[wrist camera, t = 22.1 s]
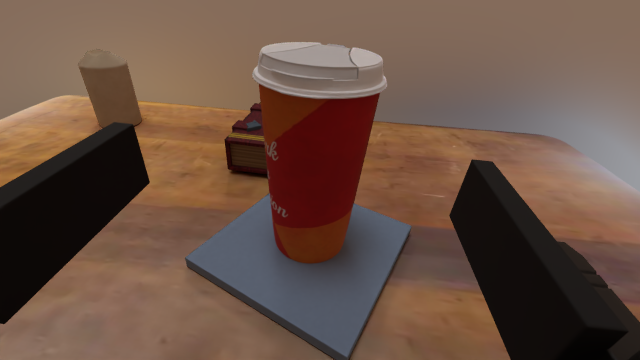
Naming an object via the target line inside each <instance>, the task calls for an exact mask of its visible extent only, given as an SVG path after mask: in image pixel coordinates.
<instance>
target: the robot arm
mask: <svg viewBox="0 0 640 360" xmlns="http://www.w3.org/2000/svg"><path fill="white" fill-rule="evenodd" d="M149 183H150V181H149V178H148V174H147V171H146V167H145V164H144V160H143V157H142V153H141V150H140V146H139V143H138V139H137V136H136V132H135V129H134V125H133V124H128V123H118V122H113V123H112V124H110V125H108V126H106V127H105V128H103V129H101V130H99V131H98V132H96V133H94V134H92V135H91V136H89V137H87V138H86V139H84V140H82V141H80V142H79V143H77V144H75V145H73V146H72V147H70V148H68V149H66V150H65V151H63V152H61V153H59V154H58V155H56V156H54V157H52V158H51V159H49V160H47V161H45V162H44V163H42V164H40V165H38V166H37V167H35V168H33V169H31V170H30V171H28V172H26V173H25V174H23V175H21V176H19V177H18V178H16V179H14V180H12V181H11V182H9V183H7V184H5V185H4V186H2V187H0V323H1V324H5V323H6V322H7V321H8V320H9V319H10V318H11V317H12V316H13V315H15V314H16V313H17V312H18V311H19V310H20V309H21V308H22V307H23V306H24V305H25V304H26V303H27V302H28V301H29V300H30V299H31V298H32V297H33V296H34V295H35V294H36V293H37V292H38V291H39V290H40V289H41V288H42V287H43V286H44V285H45V284H46V283H47V282H48V281H49V280H50V279H51V278H52V277H53V276H54V275H56V274H57V273H58V272H59V271H60V270H61V269H62V268H63V267H64V266H65V265H66V264H67V263H68V262H69V261H70V260H71V259H72V258H73V257H74V256H75V255H76V254H77V253H78V252H79V251H80V250H81V249H82V248H83V247H84V246H85V245H86V244H87V243H88V242H89V241H90V240H91V239H92V238H93V237H94V236H95V235H97V234H98V233H99V232H100V231H101V230H102V229H103V228H104V227H105V226H106V225H107V224H108V223H109V222H110V221H111V220H112V219H113V218H114V217H115V216H116V215H117V214H118V213H119V212H120V211H121V210H122V209H123V208H124V207H125V206H126V205H127V204H128V203H129V202H130V201H131V200H132V199H133V198H134V197H135V196H136V195H138V194H139V193H140V192H141V191H142V190H143V189H144V188H145V187H146V186H147V185H148V184H149ZM449 216H450V218H451V221H452V223H453V225H454V228H455V230H456V232H457V235H458V237H459V239H460V242H461V244H462V247H463V249H464V251H465V254H466V256H467V258H468V261H469V263H470V265H471V268H472V270H473V272H474V275H475V277H476V279H477V282H478V284H479V286H480V289H481V291H482V293H483V296H484V298H485V300H486V303H487V305H488V307H489V310H490V312H491V314H492V317H493V319H494V321H495V324H496V326H497V328H498V331H499V333H500V335H501V338H502V340H503V342H504V345H505V347H506V349H507V352H508V354H509V356H510V359H511V360H640V322H639V321H638V320H637V319H636V317H635V316H634V315H633V314H632V313H631V312H630V311H629V309H628V308H627V307H626V306H625V305H624V304H623V302H622V301H621V300H620V299H619V298H618V297H617V295H616V294H615V293H614V292H613V291H612V290H611V289H608V285H607V284H606V283H605V281H604V280H603V279H602V278H601V277H600V276H599V275H597V274H596V271H595V270H594V269H593V267H592V266H591V265H590V264H589V263H588V262H587V260H586V259H585V258H584V257H583V256H582V255H581V254H579V253H578V252H577V251H575V250H574V249H573V248H571V247H570V246H569V245H567V244H566V243H565V242H557V241H556V240H555V239H554V238H553V236H552V235H551V234H550V233H549V231H548V230H547V229H546V228H545V226H544V225H543V224H542V223H541V221H540V220H539V219H538V218H537V216H536V215H535V214H534V213H533V211H532V210H531V209H530V208H529V206H528V205H527V204H526V203H525V202H524V200H523V199H522V198H521V197H520V195H519V194H518V193H517V192H516V190H515V189H514V188H513V187H512V185H511V184H510V183H509V182H508V180H507V179H506V178H505V177H504V175H503V174H502V173H501V172H500V170H499V169H498V168H497V167H496V165H495V164H494V163H493V162H491V161H482V160H471V163H470V165H469V168H468V170H467V173H466V175H465V178H464V180H463V183H462V185H461V188H460V190H459V193H458V195H457V198H456V200H455V203H454V205H453V208H452V210H451V213H450V215H449Z"/></svg>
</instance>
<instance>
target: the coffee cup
mask: <svg viewBox="0 0 640 360" xmlns="http://www.w3.org/2000/svg"><path fill="white" fill-rule="evenodd" d="M349 52H350V55H348V53H349ZM252 75H253V79H254V80H255V81H256V82H257V83H259V89H260V100H261V111H262V121H263V131H264V142H265V152H266V162H267V172H268V182H269V192H270V202H271V212H272V221H273V229H274V236H275V241H276V245H277V247H278V249H279V250H280V251H281V252H282V253H283V254H284V255H285V256H286V257H288V258H290V259H292V260H294V261H297V262H301V263H320V262H324V261H327V260H329V259H331V258H333V257H334V256H335V255H337V254H338V252H339V251H340V250H341V248H342V246H343V243H344V240H345V236H346V232H347V229H348V225H349V221H350V217H351V212H352V208H353V204H354V200H355V196H356V192H357V188H358V183H359V179H360V175H361V171H362V166H363V162H364V158H365V154H366V149H367V145H368V141H369V137H370V132H371V128H372V124H373V119H374V116H375V111H376V107H377V102H378V99H379V94H380V92H381V91H383V90H385V89H386V88H387V80H386V78H385V77H384V75H383V60H382V57H381V56H379V55H378V54H375V53H373V52H371V51H367V50H364V49H360V48H355V47H353V48H352V50H351V49H350V48H346V47H345V46H342V45H334V44H328V45H321V43H314V42H313V43H312V42H288V43H277V44H271V45H267V46H265V47H263V48H262V49H261V51H260V53H259V61H258V66H257V67H256V68H255V69H254V71H253V74H252Z"/></svg>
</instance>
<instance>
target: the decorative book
mask: <svg viewBox="0 0 640 360" xmlns="http://www.w3.org/2000/svg"><path fill="white" fill-rule="evenodd" d="M250 110H251V113H250V114H249V115H248V116H247V117H246V118H245V119H244V120H243V121H241V120H238V121H237V122H236V123H235V124H234V125H233V126H232V130H233V132H232V133H231V134H230V135H229V136H228V137H227V138H226V139H225V147H226V156H227V165H228V169H229V170H237V171H245V172H252V173H260V174H267V175H268V172H267V162H266V152H265V142H264V131H263V121H262V111H261V102H260V103H259V104H257V103H255V104H254V105H253V106H252V107H251V108H250Z"/></svg>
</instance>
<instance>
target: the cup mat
mask: <svg viewBox="0 0 640 360" xmlns="http://www.w3.org/2000/svg"><path fill="white" fill-rule="evenodd" d="M410 230H411V226H410V225H407V224H405V223H402V222H400V221H397V220H395V219H392V218H390V217H387V216H384V215H382V214H379V213H377V212H374V211H372V210H369V209H366V208H364V207H361V206H359V205H356V204H353V208H352V212H351V217H350V221H349V225H348V229H347V232H346V236H345V240H344V243H343V246H342V248H341V250H340V251H339V252H338V254H337V255H335V256H334V257H333V258H331V259H329V260H327V261H324V262H320V263H301V262H297V261H294V260H292V259H290V258H288V257H286V256H285V255H284V254H283V253H282V252H281V251H280V250H279V249H278V247H277V245H276V241H275V236H274V229H273V221H272V212H271V202H270V193H269V194H268V195H267V196H265V197H264V198H263V199H261V200H260V201H259V202H257V203H256V204H255V205H253V206H252V207H251V208H249V209H248V210H247V211H246V212H244V213H243V214H242V215H240V216H239V217H238V218H236V219H235V220H234V221H232V222H231V223H230V224H228V225H227V226H226V227H225V228H223V229H222V230H221V231H219V232H218V233H217V234H215V235H214V236H213V237H211V238H210V239H209V240H207V241H206V242H205V243H204V244H202V245H201V246H200V247H198V248H197V249H196V250H194V251H193V252H192V253H190V254H189V255H188V256H186V257H185V260H186V264H187V266H188V267H189V268H191V269H192V270H194V271H196V272H197V273H199V274H200V275H202V276H204V277H205V278H207V279H208V280H210V281H211V282H213V283H215V284H216V285H218V286H219V287H221V288H223V289H224V290H226V291H227V292H229V293H231V294H232V295H234V296H235V297H237V298H239V299H240V300H242V301H243V302H245V303H247V304H248V305H250V306H251V307H253V308H254V309H256V310H258V311H259V312H261V313H262V314H264V315H266V316H267V317H269V318H270V319H272V320H274V321H275V322H277V323H278V324H280V325H282V326H283V327H285V328H286V329H288V330H289V331H291V332H293V333H294V334H296V335H297V336H299V337H301V338H302V339H304V340H305V341H307V342H309V343H310V344H312V345H313V346H315V347H317V348H318V349H320V350H321V351H323V352H325V353H326V354H328V355H329V356H331V357H332V358H334V359H336V360H349V357H350V355H351V353H352V351H353V349H354V347H355V345H356V343H357V341H358V339H359V337H360V335H361V333H362V331H363V328H364V326H365V324H366V322H367V320H368V318H369V316H370V314H371V312H372V310H373V308H374V306H375V304H376V302H377V300H378V297H379V295H380V293H381V291H382V289H383V287H384V285H385V283H386V281H387V279H388V277H389V275H390V273H391V271H392V268H393V266H394V264H395V262H396V260H397V258H398V256H399V254H400V252H401V250H402V248H403V246H404V244H405V242H406V240H407V237H408V235H409V233H410Z"/></svg>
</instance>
